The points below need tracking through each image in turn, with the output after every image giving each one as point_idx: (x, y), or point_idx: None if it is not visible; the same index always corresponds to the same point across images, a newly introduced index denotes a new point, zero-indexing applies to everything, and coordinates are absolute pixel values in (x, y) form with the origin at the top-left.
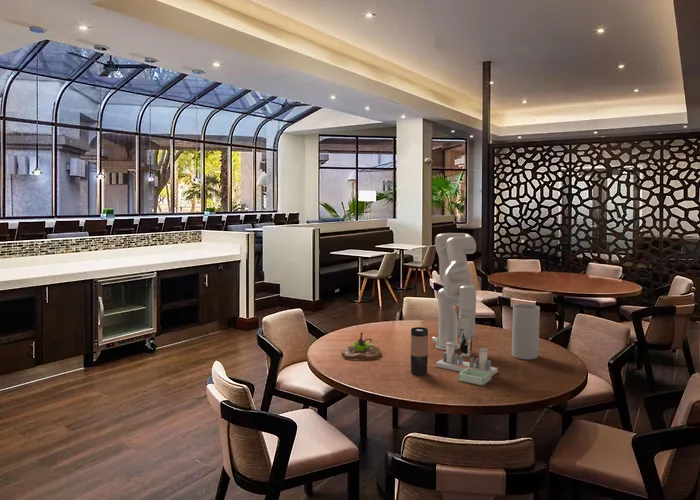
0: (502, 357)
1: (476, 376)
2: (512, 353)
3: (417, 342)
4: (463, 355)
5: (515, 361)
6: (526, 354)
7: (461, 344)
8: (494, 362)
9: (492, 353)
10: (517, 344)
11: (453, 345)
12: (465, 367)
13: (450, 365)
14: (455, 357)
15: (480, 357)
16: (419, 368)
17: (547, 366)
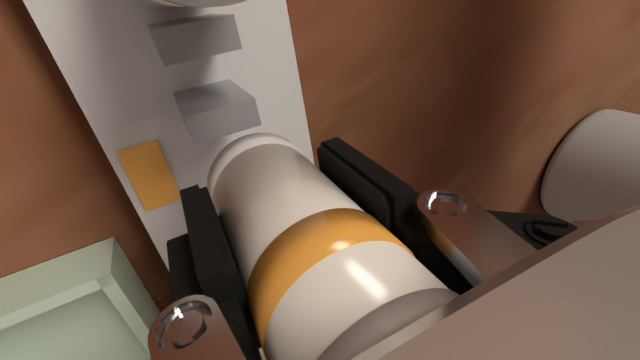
0: (540, 113)
1: (123, 321)
2: (579, 138)
3: None
4: (208, 189)
5: (508, 191)
6: (562, 213)
7: (202, 287)
8: (457, 146)
9: (585, 26)
10: (624, 197)
11: (191, 6)
12: (149, 208)
13: (50, 47)
14: (162, 62)
15: (260, 352)
16: None
17: None
